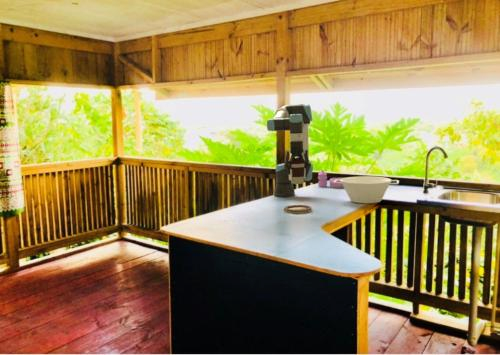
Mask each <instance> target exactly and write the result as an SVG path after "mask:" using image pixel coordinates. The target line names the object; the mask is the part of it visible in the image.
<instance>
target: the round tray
mask: <svg viewBox="0 0 500 355" xmlns="http://www.w3.org/2000/svg"><path fill="white" fill-rule="evenodd" d="M283 211H284V212H285V213H288V214H294V215H295V214H307V213H311V212H312V211H313V209H312V206H310V205H307V204H292V205H286V206H284V208H283Z"/></svg>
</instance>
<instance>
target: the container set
mask: <svg viewBox="0 0 500 355" xmlns="http://www.w3.org/2000/svg"><path fill="white" fill-rule="evenodd" d="M317 174H318V176H317V179H318V182H317V185H318V187H319V188H326V187H327V186H328V181H327V179H328V176H327V174H328V173H327V172H326V171H325V170H320V172H319V173H317ZM343 178H344V177H332V178H329V188H331V189H345V188H344V187H343V184H342V183H333V181H335V180H336V179H343ZM336 182H341V181H340V180H337V181H336Z"/></svg>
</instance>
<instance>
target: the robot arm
mask: <svg viewBox="0 0 500 355" xmlns="http://www.w3.org/2000/svg"><path fill="white" fill-rule="evenodd" d="M311 122H313V114H312V108H311V105H310V104H309V103H308V104H306V103H298V104H286V105H282V106H281V107H279V108H278V109H276V111H275V113H274V117H273V118H268V119H267V121H266V130H267V131H268V132H279V131H280V132H283V131H284V132H285V131H288V132H289V147H290V148H289V150H285V159H284V163H283V162H282V163H281V164H280V163H279V164H276V166H275V183H276V184H275V186H274V187H275V188H274V190H273V196H274V197H281V198H287V197H294V196H295V195H296V192H295V189H294V184H292V183H291V180H292V169H291V166H292V165H291V164H289V161H292V160H293V159H294V158H303V160H305V163H304V167H305V169H304V182H306V181H311V180H312V178H313V171H314V170H313V169H314V164H312V161H311V160H310V152H309V151H310V150H309V149H310V148H309V146H310V142H309V126H310V125H311Z"/></svg>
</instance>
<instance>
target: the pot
mask: <svg viewBox="0 0 500 355" xmlns="http://www.w3.org/2000/svg"><path fill="white" fill-rule="evenodd" d="M342 178H343V179H336V180H335V181H333V183H342V184H343V187H344V188H343V189H344V190H345V192H346V194H347V196H348V198H349V200H350V201H351V202H353V203H355V204H362V203H363V204H365V205H366V204H367V205H369V204H378V203H381V201H382V200H383V198H384V196H385V194H386V192H387V189H388V188H389V186H390V185H399V184H400V180H398V179H391V178H388V177H384V176H370V175H369V176H366V175H365V176H364V175H363V176H348V177H342ZM337 180H340V181H341V182H336V181H337Z"/></svg>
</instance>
